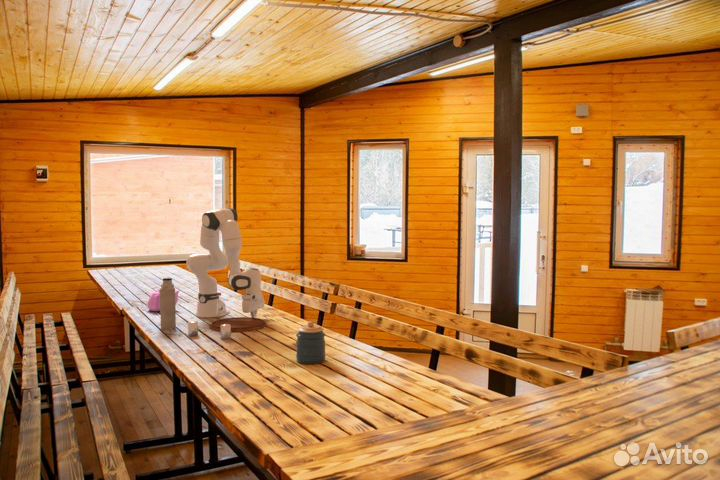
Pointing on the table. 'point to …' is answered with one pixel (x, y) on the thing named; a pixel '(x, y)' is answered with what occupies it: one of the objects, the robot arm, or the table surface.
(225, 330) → the bench dogs
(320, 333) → the canister
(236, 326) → the cutting board
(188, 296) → the table surface
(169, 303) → the thermos bottle
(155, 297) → the teapot
